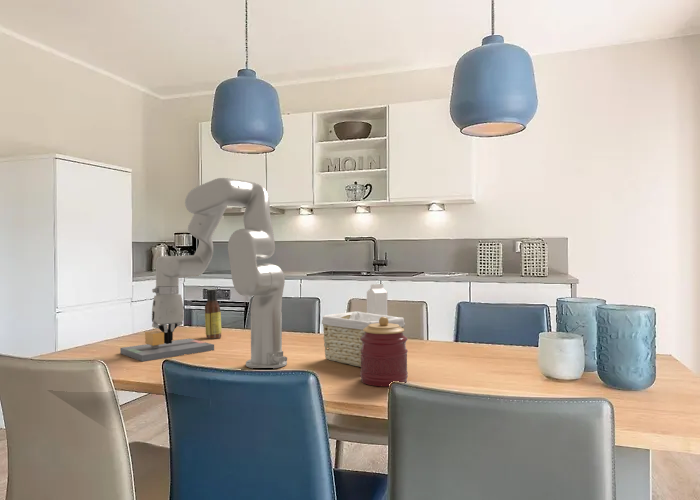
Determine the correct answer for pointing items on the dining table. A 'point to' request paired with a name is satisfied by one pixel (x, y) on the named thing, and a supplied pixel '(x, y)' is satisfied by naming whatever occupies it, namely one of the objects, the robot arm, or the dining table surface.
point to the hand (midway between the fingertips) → (167, 343)
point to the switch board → (166, 349)
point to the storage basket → (349, 334)
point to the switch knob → (154, 338)
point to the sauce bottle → (212, 315)
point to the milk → (377, 300)
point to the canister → (383, 354)
